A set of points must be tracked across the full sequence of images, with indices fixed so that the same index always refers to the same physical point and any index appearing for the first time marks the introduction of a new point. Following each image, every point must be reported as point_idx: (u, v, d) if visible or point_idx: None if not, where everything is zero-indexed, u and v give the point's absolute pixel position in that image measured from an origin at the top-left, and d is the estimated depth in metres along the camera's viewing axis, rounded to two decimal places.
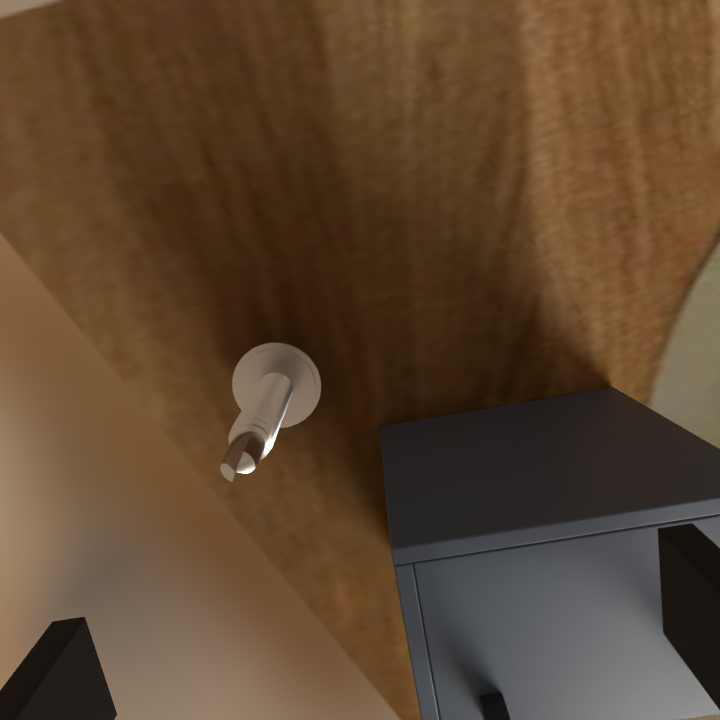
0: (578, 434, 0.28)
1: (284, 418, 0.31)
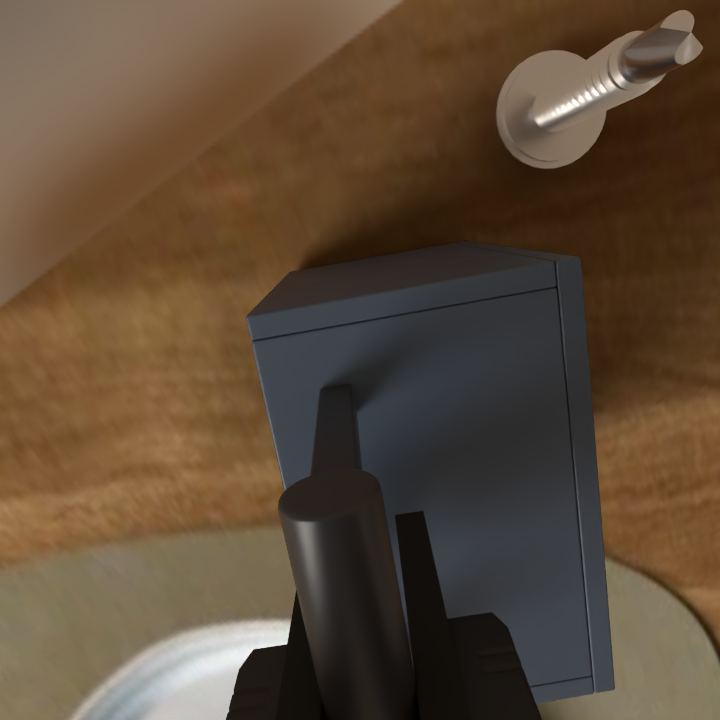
0: None
1: (512, 119, 0.25)
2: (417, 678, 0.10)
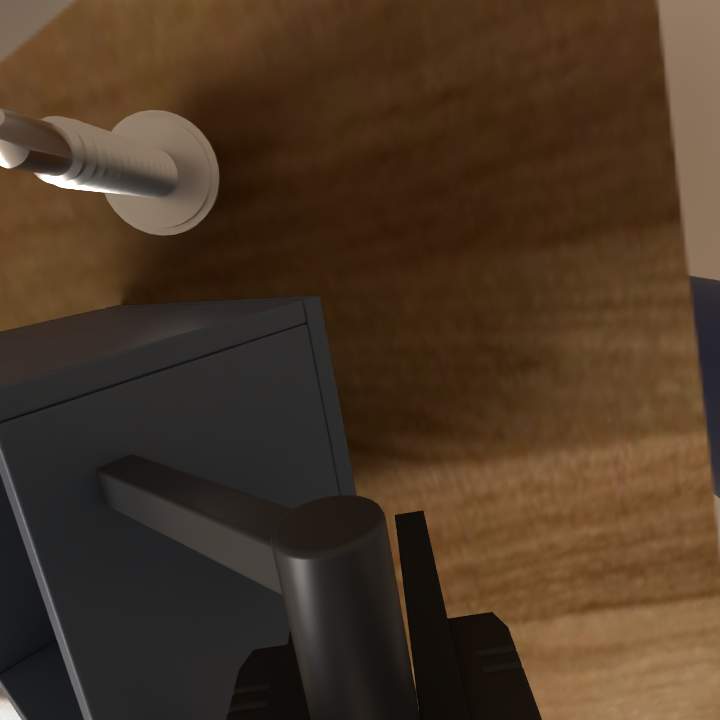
0: None
1: None
2: (417, 678, 0.10)
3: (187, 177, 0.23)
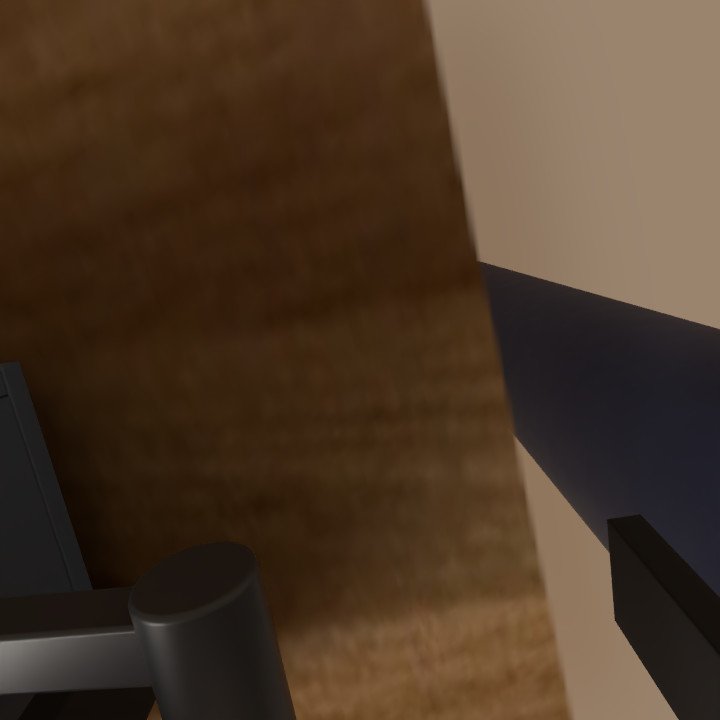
0: None
1: None
2: None
3: None
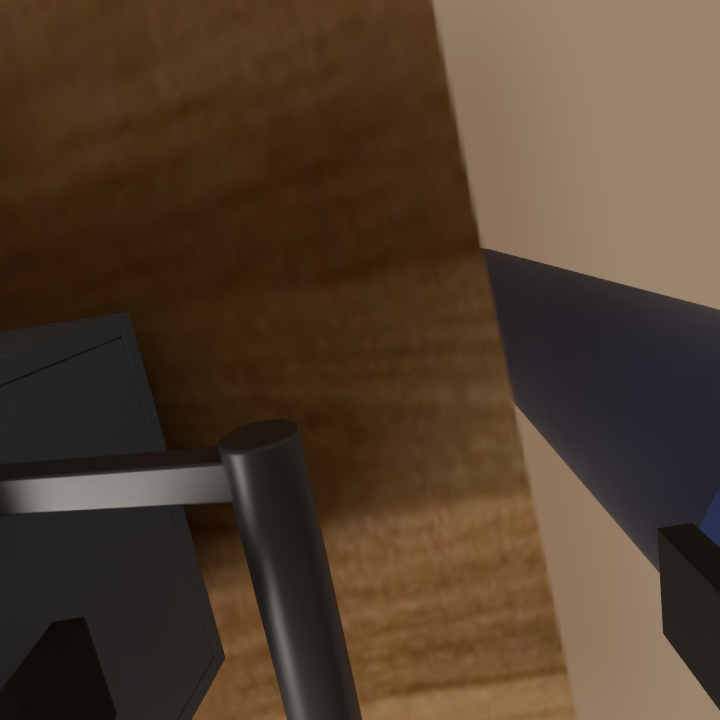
0: None
1: None
2: None
3: None
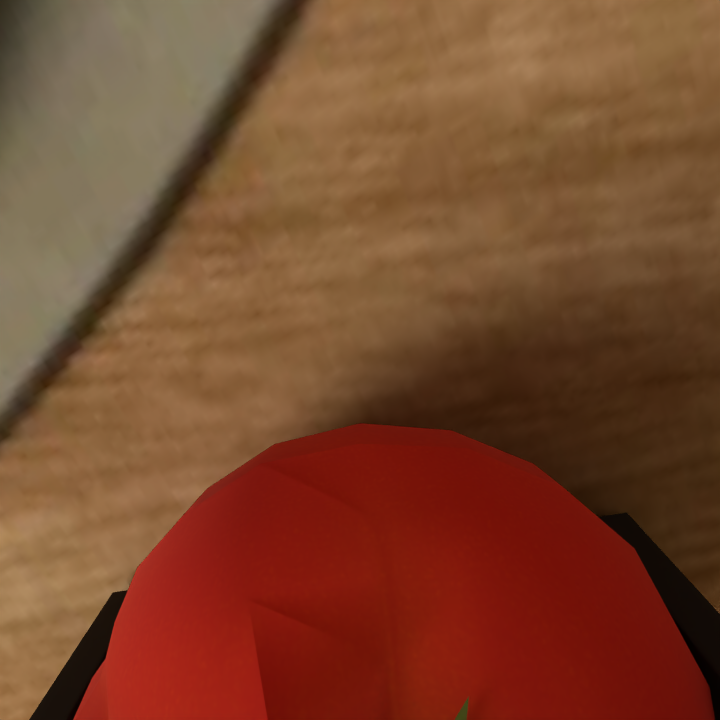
0: None
1: None
2: None
3: None
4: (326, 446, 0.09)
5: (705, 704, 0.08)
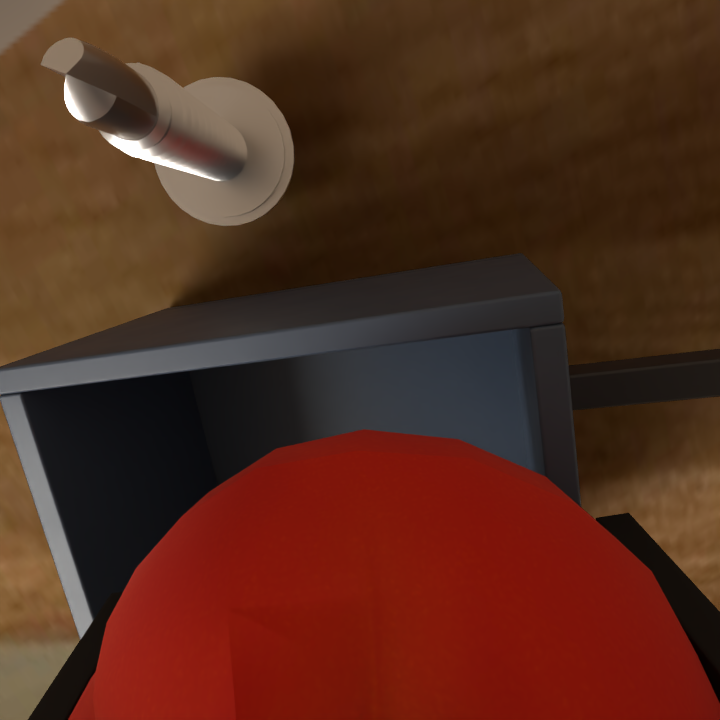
0: None
1: None
2: None
3: (257, 156, 0.19)
4: (324, 451, 0.09)
5: None
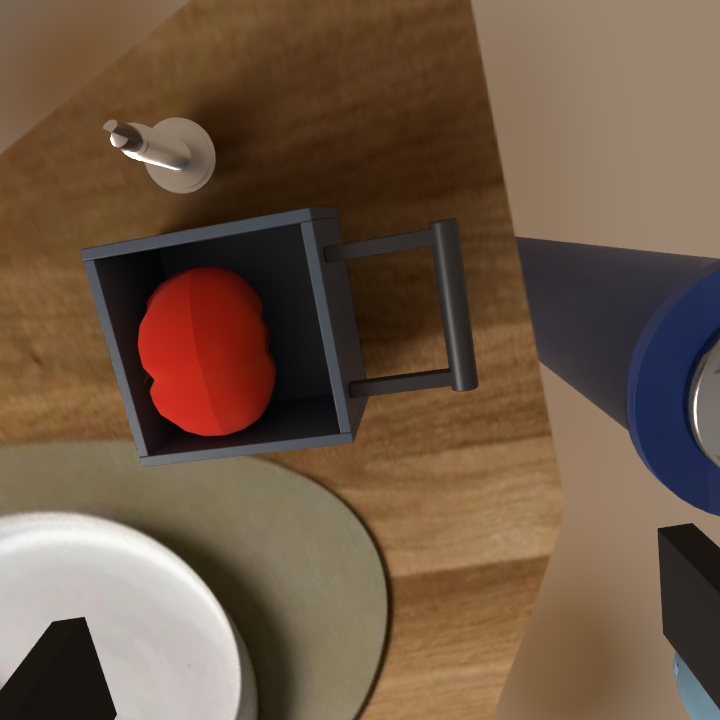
0: None
1: None
2: None
3: (196, 157, 0.38)
4: (196, 268, 0.35)
5: (164, 355, 0.32)
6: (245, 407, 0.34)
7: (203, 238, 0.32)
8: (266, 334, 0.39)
